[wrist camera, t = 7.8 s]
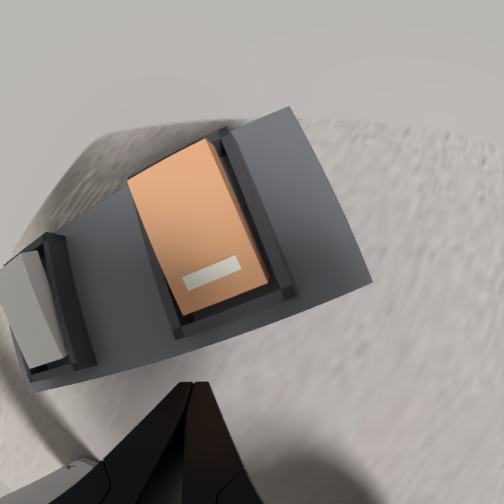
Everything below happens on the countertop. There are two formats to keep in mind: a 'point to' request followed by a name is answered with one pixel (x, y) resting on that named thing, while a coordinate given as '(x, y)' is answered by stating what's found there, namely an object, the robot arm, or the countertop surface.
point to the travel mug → (50, 484)
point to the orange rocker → (198, 228)
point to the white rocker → (31, 310)
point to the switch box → (152, 276)
